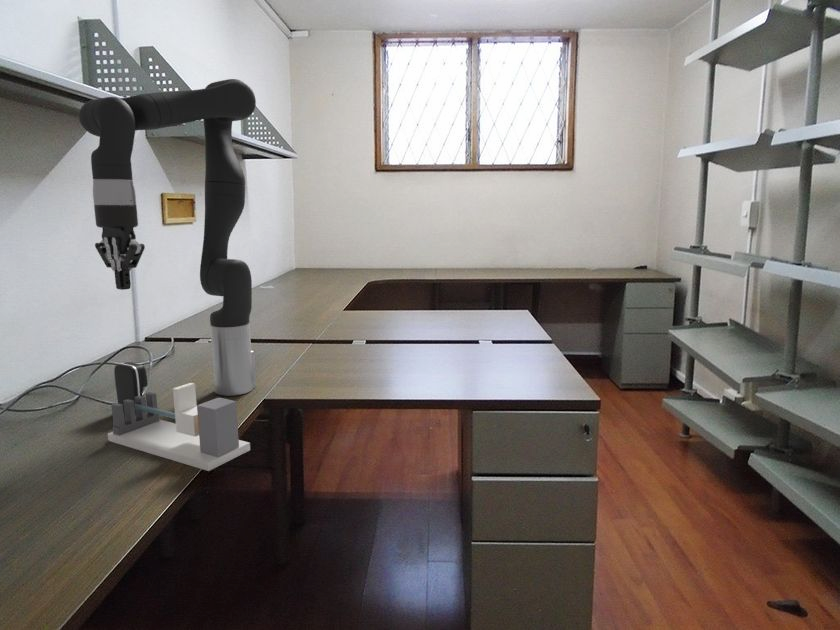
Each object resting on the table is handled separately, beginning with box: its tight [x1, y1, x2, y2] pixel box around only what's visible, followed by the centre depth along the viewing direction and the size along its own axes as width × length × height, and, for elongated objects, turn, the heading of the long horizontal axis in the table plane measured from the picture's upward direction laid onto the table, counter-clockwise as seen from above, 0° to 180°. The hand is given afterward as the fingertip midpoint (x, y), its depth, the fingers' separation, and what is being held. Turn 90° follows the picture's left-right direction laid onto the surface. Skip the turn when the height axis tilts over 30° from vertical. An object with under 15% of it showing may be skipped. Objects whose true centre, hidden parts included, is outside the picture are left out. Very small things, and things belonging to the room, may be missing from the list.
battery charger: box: [113, 361, 149, 414], centre depth 127 cm, size 7×4×11 cm, turn 63°
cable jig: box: [107, 391, 251, 472], centre depth 109 cm, size 10×28×10 cm, turn 62°
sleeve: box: [172, 382, 199, 437], centre depth 106 cm, size 4×5×8 cm
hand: (123, 288), depth 116 cm, fingers closed
